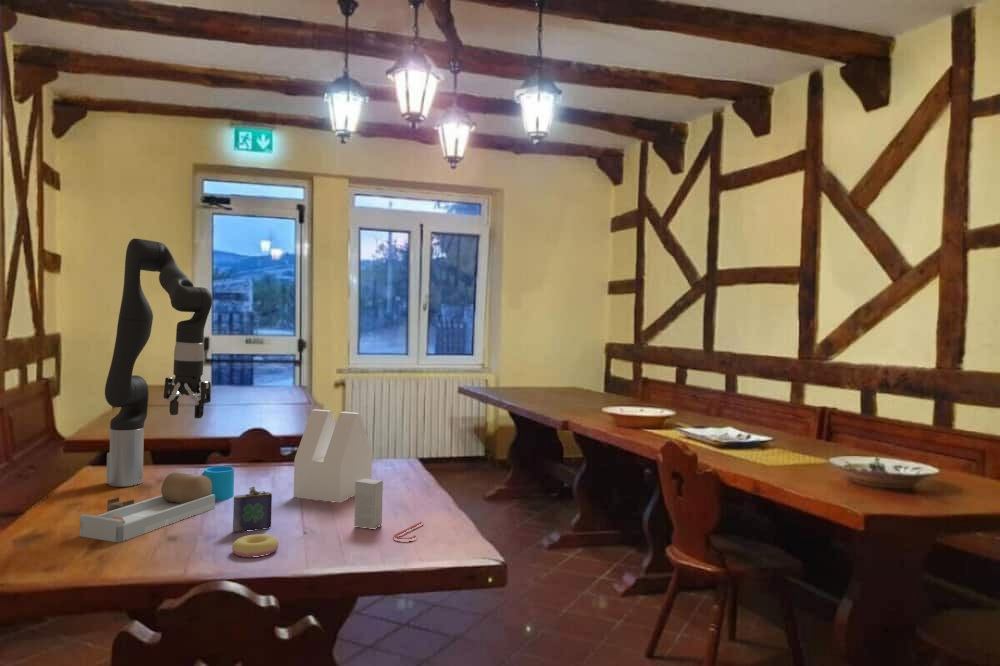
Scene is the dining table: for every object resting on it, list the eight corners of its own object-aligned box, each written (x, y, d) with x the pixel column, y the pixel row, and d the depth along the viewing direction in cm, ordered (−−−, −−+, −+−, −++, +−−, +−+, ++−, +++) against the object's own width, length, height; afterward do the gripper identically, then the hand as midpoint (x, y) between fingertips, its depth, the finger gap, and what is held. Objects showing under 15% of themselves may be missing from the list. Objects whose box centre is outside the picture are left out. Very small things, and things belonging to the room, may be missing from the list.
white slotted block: (339, 503, 204) (341, 417, 203) (293, 497, 209) (295, 413, 208) (371, 488, 222) (373, 409, 222) (328, 483, 227) (330, 406, 226)
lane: (79, 536, 168) (80, 496, 168) (179, 503, 198) (180, 469, 198) (119, 542, 164) (119, 501, 164) (214, 508, 195) (215, 473, 194)
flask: (233, 533, 174) (234, 490, 173) (231, 530, 176) (232, 487, 176) (272, 529, 178) (273, 486, 178) (269, 525, 181) (270, 484, 181)
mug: (239, 496, 208) (240, 468, 208) (216, 502, 201) (216, 473, 201) (212, 490, 214) (213, 463, 214) (188, 495, 207) (189, 467, 207)
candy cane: (439, 530, 184) (439, 524, 184) (409, 546, 170) (409, 540, 170) (419, 526, 187) (419, 521, 187) (388, 542, 173) (388, 536, 173)
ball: (108, 535, 171) (118, 520, 174) (121, 537, 170) (131, 522, 172) (99, 526, 168) (109, 512, 171) (112, 528, 167) (122, 513, 170)
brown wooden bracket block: (107, 512, 187) (107, 499, 187) (116, 509, 190) (116, 497, 190) (124, 515, 185) (125, 502, 185) (134, 512, 188) (134, 499, 188)
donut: (233, 558, 164) (235, 565, 155) (230, 538, 164) (231, 544, 155) (277, 546, 168) (282, 553, 159) (274, 527, 168) (278, 533, 159)
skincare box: (382, 526, 184) (383, 480, 184) (374, 530, 180) (375, 483, 180) (361, 523, 186) (363, 477, 186) (353, 527, 182) (354, 481, 181)
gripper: (219, 360, 197) (216, 417, 198) (179, 355, 202) (176, 412, 203) (199, 361, 190) (196, 421, 191) (158, 356, 195) (155, 415, 195)
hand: (186, 416), depth 197 cm, fingers open, 8 cm apart
